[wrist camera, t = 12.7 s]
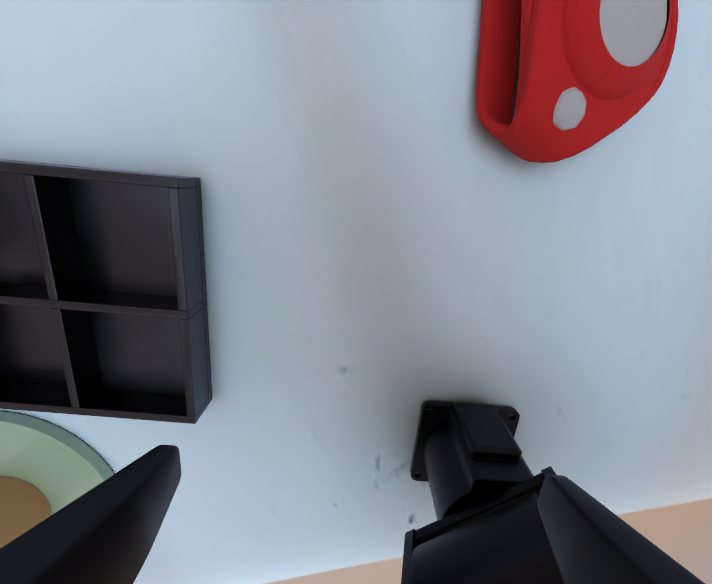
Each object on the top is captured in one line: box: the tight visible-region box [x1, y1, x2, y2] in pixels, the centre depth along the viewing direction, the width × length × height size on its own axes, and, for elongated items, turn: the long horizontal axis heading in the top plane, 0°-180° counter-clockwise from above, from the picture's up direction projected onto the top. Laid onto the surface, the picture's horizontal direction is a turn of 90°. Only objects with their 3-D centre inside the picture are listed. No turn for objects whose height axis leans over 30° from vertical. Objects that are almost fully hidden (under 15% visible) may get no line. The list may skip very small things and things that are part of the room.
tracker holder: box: [476, 0, 678, 163], centre depth 15 cm, size 12×4×10 cm
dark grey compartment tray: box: [0, 160, 212, 424], centre depth 19 cm, size 14×21×2 cm
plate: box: [0, 411, 114, 516], centre depth 25 cm, size 15×15×1 cm
